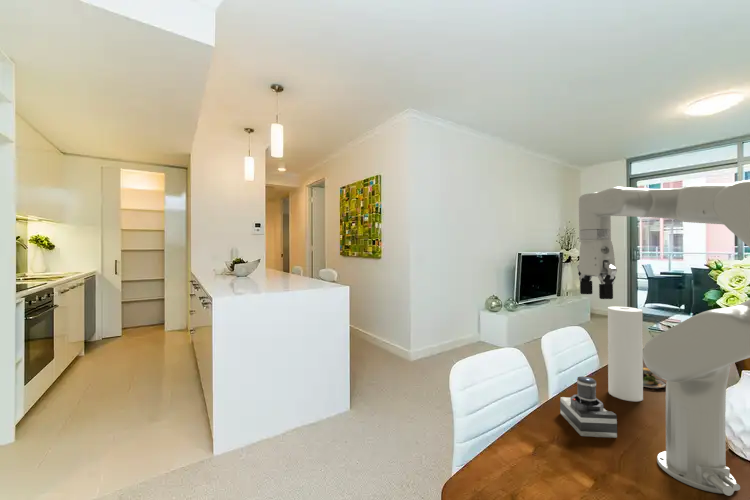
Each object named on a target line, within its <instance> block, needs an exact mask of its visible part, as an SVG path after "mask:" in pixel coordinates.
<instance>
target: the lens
mask: <svg viewBox="0 0 750 500" xmlns="http://www.w3.org/2000/svg"><path fill="white" fill-rule="evenodd" d="M576 384H577V394H576V395H577V397H578V402H580V403H583V404H586V405H596V398H597V380H595V379H594V378H592V377H589V376H577V378H576Z"/></svg>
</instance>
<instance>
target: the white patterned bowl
mask: <svg viewBox="0 0 750 500" xmlns="http://www.w3.org/2000/svg"><path fill="white" fill-rule="evenodd" d="M645 366H646V365H643V388H644V387H645V388H648V389H649V388H650V389H661V388H664V389H665V390H666V382H665V381H663V380H661V379H659V378H656V376H654V375H653V373H652V372H651V371H650V370H649V369H648V368H647V367H645Z"/></svg>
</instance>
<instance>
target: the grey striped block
mask: <svg viewBox="0 0 750 500" xmlns="http://www.w3.org/2000/svg"><path fill="white" fill-rule="evenodd" d="M559 403H560V404H559V406H560V407H559V410H560V415H561V416H562V417H563V418H564V419H565V420H566V421H567V422H568V424H569V425H570V426H571V427H572V428H573V429H574V430H575V431H576V433H577V434H579V436H581V437H590V438H591V437H595V438H610V439H611V438H614V439H615V438H616V439H617V438H618V421H617V420H618V415H617V414H616V413H614V411H609V410H606V408H604V403H603V401H601V400H600V399H598V398H597V397H596V405H586V404H583V403H580V402H578V397H577V394H573V395H572V396H570V397H565V396H562V397H561V396H560V401H559Z"/></svg>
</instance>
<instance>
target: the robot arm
mask: <svg viewBox="0 0 750 500" xmlns="http://www.w3.org/2000/svg"><path fill="white" fill-rule="evenodd" d="M611 216H613V217H632V218H634V217H635V218H655V219H656V218H658V219H670V220H671V219H672V220H678V221H680V222H681V223H691V224H692V223H694V224H695V223H697V224H710V225H722V226H723V225H724V226H725V227H726V228H727V229H728V230H729V231H730V232H731V233H733V235H734V236H736V237H737V238H738V239H739V240H740V241H742V243H743V244H745V245H746V246H747V247H748V248H750V179H748V180H741V181H737V182H734V183H731V182H729V183H728V182H727V183H691V184H687V185H685V186H684V187H678V188H638V187H627V186H625V187H624V186H615V187H610V188H606V189H604V190H601V191H596V192H589V193H588V192H587V193H584V194H582V195H580V196H579V197H578V230H579V231H578V236H579V237H578V241H579V244H580V245H579V253H578V254H579V255H578V256H579V258H578V259H579V261H578V265H577V272H578V276H579V278H578V279H579V285H580V286H579V291H580V292H579V293H580V295H592V294H593V280H592V278H593V277H597V278H598V280H599V282H600V283H599V284H598V288H599V289H598V291H599V293H598V296H599V299H600V300H612V299H614V284H615V280H616V275H617V271H618V269H617V268H616V261H615V259H616V258H615V252H614V245H613V241H612V230H611V229H612V227H611V226H612V225H611V223H612V221H611ZM746 359H750V299H748V300H745V301H744V302H742V303H741V302H740V303H739V304H736V305H733V306H732V305H731V306H726V307H721V308H713V309H709V310H705V311H702V312H700V313H698V314H697V313H696V314H695V315H693V316H691V317H689V318H686V319H685V320H683V321H681V322H679V323H677V324H676V325H674V326H672V327H670V328H668V329H665V330H664V331H663V332H660V333H659V334H657V335H655V336H654V337H652V338H650V339H649V340H648V341H647V342H646V343H645V345H644V347H643V364H644V366H646V368H648V369H649V370H650V371H651V372H652V373H653V374H654V375H655V377H658V378H660V379H662V380H665V381H666V382H665V383H666V389H665V450H664V451H662V452H659V453H658V454H657V455H656V456H657V457H656V461H657V462H656V463H657V464H658V466H659V468H661V469H662V471H664V472H665V473H667V474H668V475H669V476H670V477H673V479H675V480H677V481H678V482H680V483H683V484H685V485H687V486H690V487H693V488H695V489H698V490H702V491H705V492H710V493H714V494H724V495H726V496H727V497H728V496H732V495H734V492H735V491H740V490H741V486H740V484H739V483H737V481H736V478H735V477H734V476H733V475H732V474H731V473H730V471H731V470H730V468H729V467H728V466H726V465H727V464H726V463H727V462H726V461H727V460H726V457H727V456H726V448H727V447H726V445H727V444H726V442H727V441H726V440H727V439H726V411H727V409H726V405H727V404H726V399H727V386H728V379H729V376H730V375H729V374H730V370H731V365H732V364H734V363H737V362H740V361H743V360H746ZM653 374H652V375H653Z"/></svg>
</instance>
